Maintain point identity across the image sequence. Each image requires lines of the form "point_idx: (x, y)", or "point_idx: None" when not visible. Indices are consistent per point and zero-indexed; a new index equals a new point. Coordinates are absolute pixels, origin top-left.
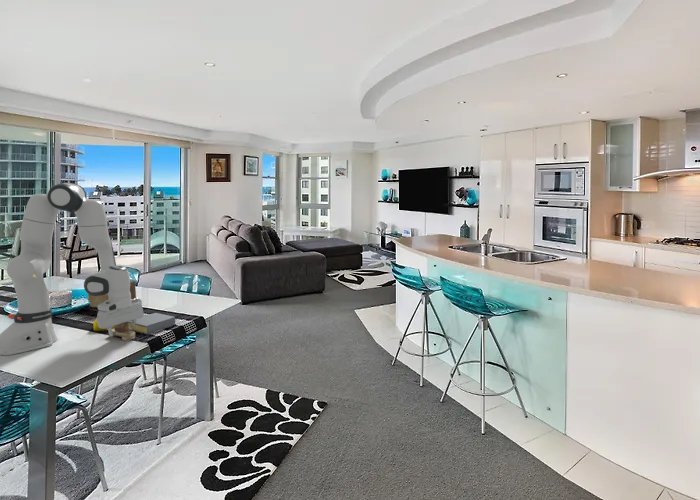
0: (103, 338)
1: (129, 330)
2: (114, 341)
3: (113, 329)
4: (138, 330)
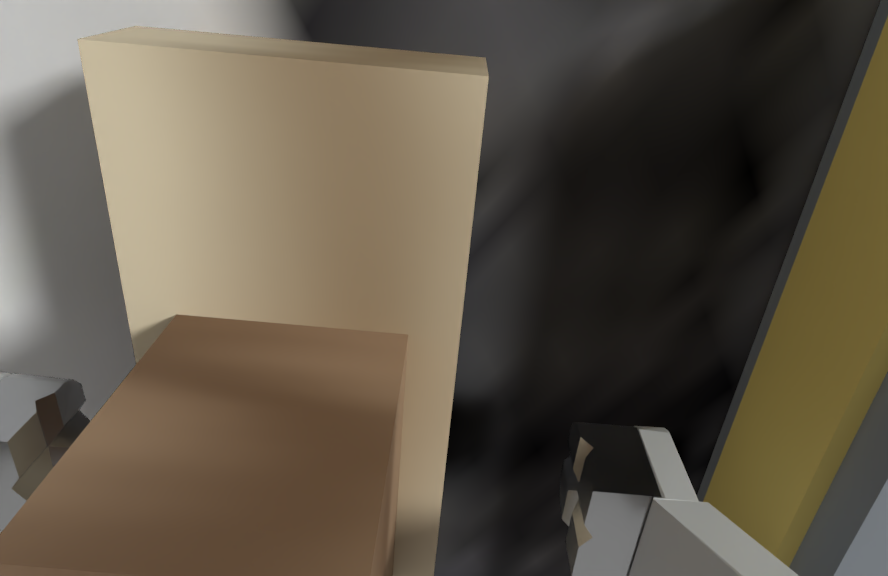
0: (10, 25)
1: (425, 571)
2: None
3: (238, 147)
4: (727, 457)
